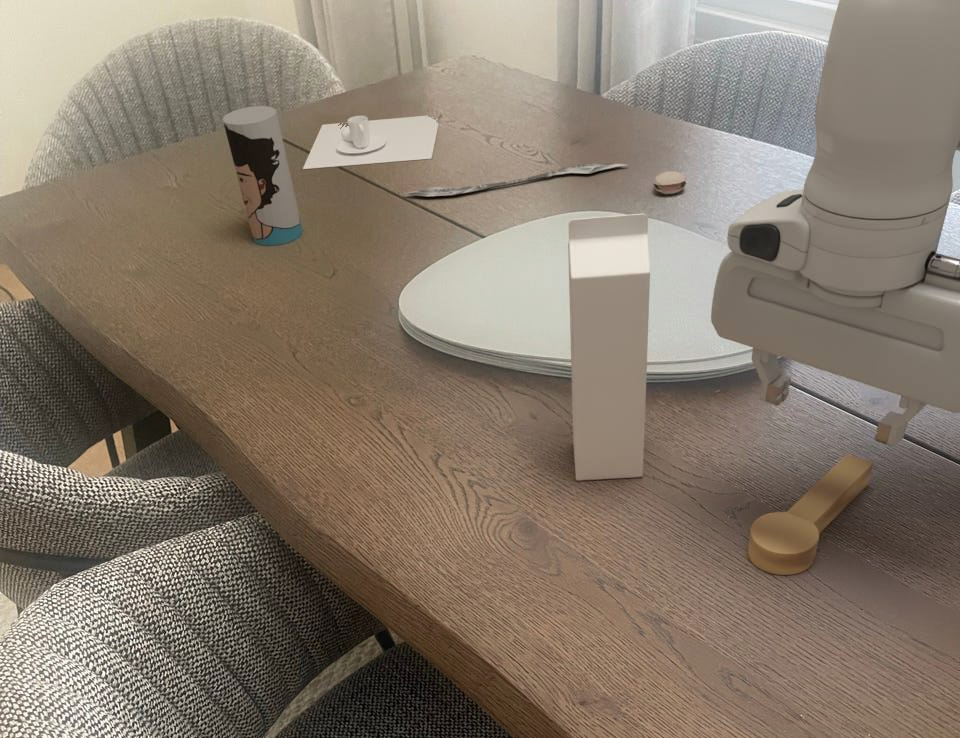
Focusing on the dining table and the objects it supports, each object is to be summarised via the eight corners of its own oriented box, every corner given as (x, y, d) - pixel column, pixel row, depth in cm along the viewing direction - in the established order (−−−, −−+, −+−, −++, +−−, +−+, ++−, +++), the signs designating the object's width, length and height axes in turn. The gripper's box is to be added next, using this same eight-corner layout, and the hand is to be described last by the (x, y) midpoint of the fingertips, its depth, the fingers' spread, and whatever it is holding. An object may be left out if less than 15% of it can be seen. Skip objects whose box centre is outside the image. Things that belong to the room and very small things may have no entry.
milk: (573, 444, 91) (565, 203, 75) (638, 439, 90) (644, 196, 75) (575, 482, 86) (568, 235, 71) (644, 478, 86) (652, 229, 70)
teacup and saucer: (341, 138, 156) (336, 111, 153) (389, 134, 156) (385, 106, 153) (333, 158, 150) (327, 130, 147) (383, 154, 149) (379, 125, 147)
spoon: (827, 468, 84) (832, 447, 83) (884, 489, 82) (889, 468, 80) (734, 557, 77) (737, 536, 76) (793, 584, 75) (797, 562, 73)
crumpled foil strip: (403, 194, 137) (408, 207, 133) (402, 190, 136) (407, 202, 133) (620, 156, 140) (631, 168, 136) (620, 152, 139) (631, 164, 136)
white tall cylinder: (270, 222, 135) (242, 104, 124) (311, 226, 132) (286, 107, 122) (243, 243, 130) (211, 123, 120) (285, 247, 128) (257, 125, 117)
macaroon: (658, 199, 128) (659, 180, 126) (646, 186, 132) (647, 167, 130) (689, 194, 128) (690, 174, 127) (676, 181, 132) (677, 161, 130)
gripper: (1050, 256, 59) (985, 446, 69) (757, 190, 70) (736, 363, 80) (1007, 297, 56) (945, 489, 66) (708, 221, 67) (692, 396, 77)
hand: (829, 419), depth 73 cm, fingers open, 8 cm apart
